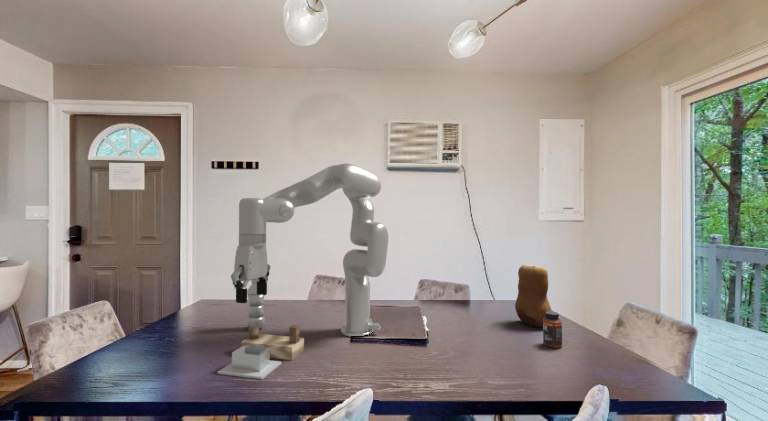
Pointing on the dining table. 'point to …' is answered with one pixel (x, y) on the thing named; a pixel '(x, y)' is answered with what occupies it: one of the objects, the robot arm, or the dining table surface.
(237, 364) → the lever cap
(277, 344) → the wooden peg stand
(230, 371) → the mat
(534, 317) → the butternut squash
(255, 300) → the plastic bottle
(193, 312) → the dining table surface
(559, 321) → the supplement bottle
